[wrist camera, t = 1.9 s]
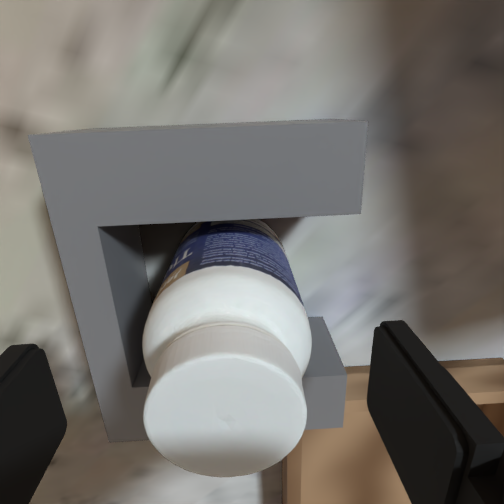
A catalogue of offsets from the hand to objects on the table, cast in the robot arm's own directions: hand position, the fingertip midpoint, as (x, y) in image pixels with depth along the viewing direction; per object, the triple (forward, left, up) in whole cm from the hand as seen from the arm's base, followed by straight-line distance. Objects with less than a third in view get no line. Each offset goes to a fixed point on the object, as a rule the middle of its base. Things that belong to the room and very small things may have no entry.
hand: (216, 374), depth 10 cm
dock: (0, 0, -8) cm, 8 cm away
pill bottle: (0, 0, -8) cm, 8 cm away
